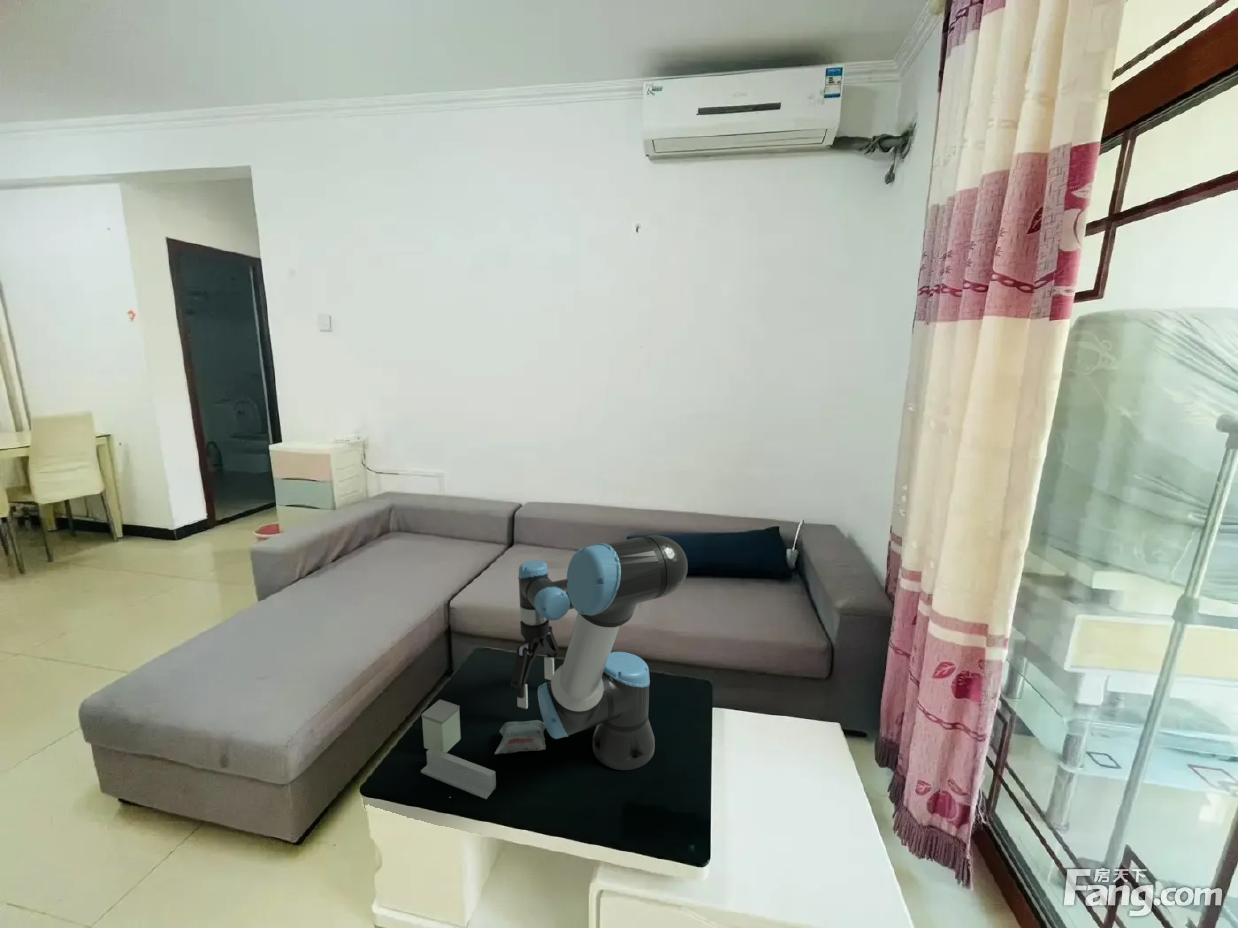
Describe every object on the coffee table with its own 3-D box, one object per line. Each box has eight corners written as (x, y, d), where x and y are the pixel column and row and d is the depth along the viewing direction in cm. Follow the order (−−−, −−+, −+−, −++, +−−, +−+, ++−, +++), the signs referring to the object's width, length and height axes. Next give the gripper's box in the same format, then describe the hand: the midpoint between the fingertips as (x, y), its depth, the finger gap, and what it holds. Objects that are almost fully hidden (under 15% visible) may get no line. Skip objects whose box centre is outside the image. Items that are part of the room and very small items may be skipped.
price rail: (497, 785, 113) (496, 770, 112) (486, 799, 109) (485, 783, 109) (433, 761, 120) (432, 746, 119) (421, 772, 116) (419, 757, 115)
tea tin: (461, 738, 127) (459, 705, 125) (443, 755, 121) (441, 721, 120) (441, 731, 129) (439, 699, 128) (423, 748, 124) (421, 714, 122)
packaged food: (545, 757, 121) (545, 738, 120) (495, 761, 120) (493, 742, 119) (547, 731, 129) (546, 714, 128) (500, 735, 128) (499, 717, 127)
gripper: (546, 598, 148) (548, 665, 152) (494, 637, 126) (497, 716, 129) (569, 602, 145) (570, 671, 149) (520, 643, 123) (522, 723, 126)
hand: (536, 692), depth 139 cm, fingers open, 13 cm apart
